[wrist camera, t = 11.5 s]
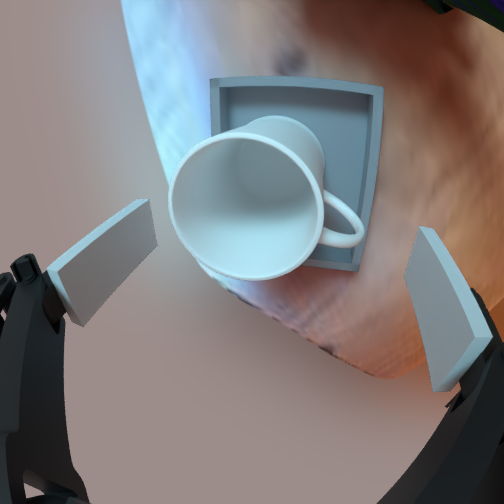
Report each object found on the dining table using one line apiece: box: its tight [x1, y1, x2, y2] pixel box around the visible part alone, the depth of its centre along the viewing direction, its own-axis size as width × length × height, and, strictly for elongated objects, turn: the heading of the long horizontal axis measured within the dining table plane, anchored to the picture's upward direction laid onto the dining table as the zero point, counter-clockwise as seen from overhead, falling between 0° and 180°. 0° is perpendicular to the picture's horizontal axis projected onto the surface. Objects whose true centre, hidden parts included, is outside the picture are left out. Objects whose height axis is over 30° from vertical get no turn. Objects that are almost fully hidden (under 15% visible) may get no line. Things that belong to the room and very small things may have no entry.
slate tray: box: [210, 76, 384, 272], centre depth 23 cm, size 14×17×3 cm
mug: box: [168, 116, 364, 281], centre depth 18 cm, size 12×8×12 cm
